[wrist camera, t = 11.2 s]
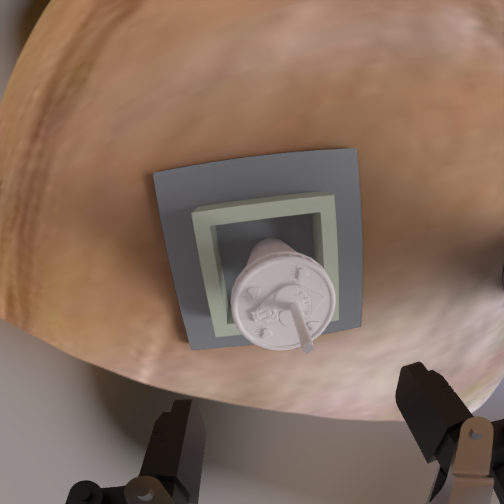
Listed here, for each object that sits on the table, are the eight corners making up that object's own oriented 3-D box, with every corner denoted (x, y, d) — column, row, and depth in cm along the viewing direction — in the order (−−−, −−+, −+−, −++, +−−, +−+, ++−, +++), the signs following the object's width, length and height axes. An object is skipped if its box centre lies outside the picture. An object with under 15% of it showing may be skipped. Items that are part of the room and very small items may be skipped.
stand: (351, 148, 24) (372, 146, 20) (357, 321, 30) (372, 344, 25) (156, 172, 25) (138, 174, 20) (193, 343, 30) (186, 370, 25)
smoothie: (312, 280, 27) (365, 378, 13) (245, 297, 27) (247, 409, 14) (297, 214, 25) (355, 270, 12) (226, 233, 25) (206, 309, 12)
